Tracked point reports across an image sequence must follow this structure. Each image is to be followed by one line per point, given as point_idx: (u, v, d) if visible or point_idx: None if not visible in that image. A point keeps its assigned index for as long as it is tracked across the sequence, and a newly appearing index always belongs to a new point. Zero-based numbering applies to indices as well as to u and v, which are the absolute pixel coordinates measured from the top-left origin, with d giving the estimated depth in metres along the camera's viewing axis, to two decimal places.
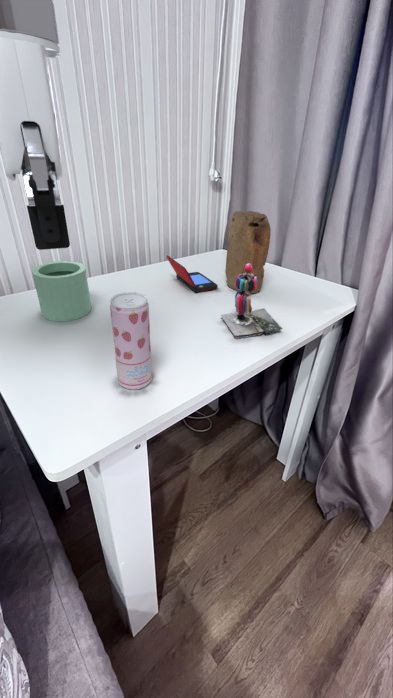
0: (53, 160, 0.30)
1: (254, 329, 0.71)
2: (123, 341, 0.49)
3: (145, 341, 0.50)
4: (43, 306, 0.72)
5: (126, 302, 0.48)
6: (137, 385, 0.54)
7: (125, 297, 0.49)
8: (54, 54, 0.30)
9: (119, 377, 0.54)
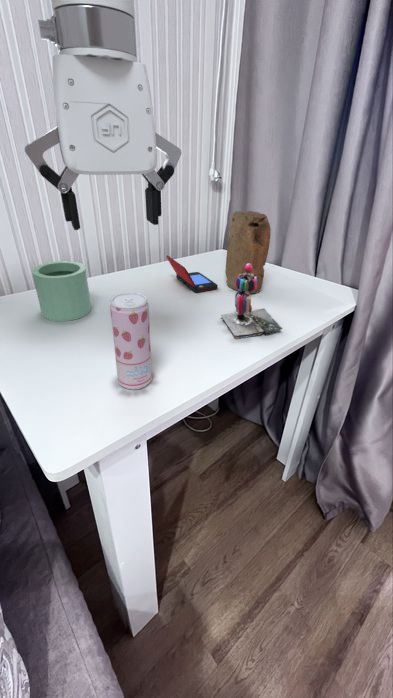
0: None
1: (254, 329, 0.71)
2: (123, 341, 0.49)
3: (145, 341, 0.50)
4: (43, 306, 0.72)
5: (126, 302, 0.48)
6: (137, 385, 0.54)
7: (125, 297, 0.49)
8: None
9: (119, 377, 0.54)
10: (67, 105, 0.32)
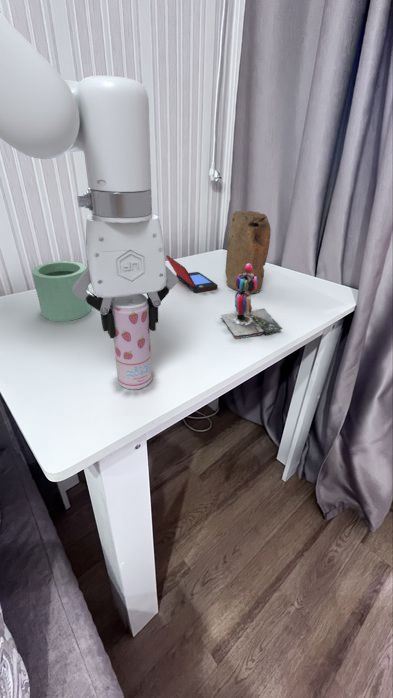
0: None
1: (254, 329, 0.71)
2: (123, 341, 0.49)
3: (145, 341, 0.50)
4: (43, 306, 0.72)
5: (126, 302, 0.48)
6: (137, 385, 0.54)
7: (125, 297, 0.49)
8: None
9: (119, 377, 0.54)
10: (98, 254, 0.41)
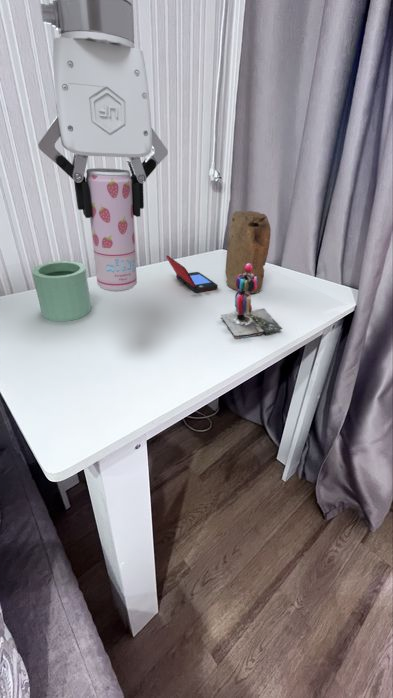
0: None
1: (254, 329, 0.71)
2: (101, 222, 0.42)
3: (127, 226, 0.43)
4: (43, 306, 0.72)
5: (105, 172, 0.40)
6: (119, 285, 0.46)
7: None
8: None
9: (98, 276, 0.46)
10: (67, 86, 0.34)
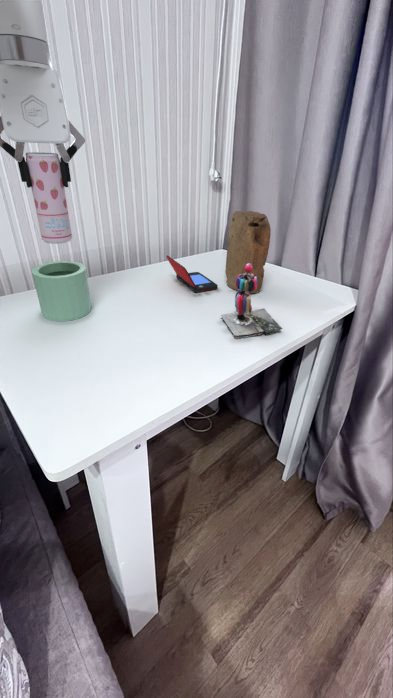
0: None
1: (254, 329, 0.71)
2: (38, 190, 0.59)
3: (58, 193, 0.60)
4: (43, 306, 0.72)
5: None
6: (56, 238, 0.63)
7: None
8: None
9: (41, 232, 0.64)
10: (4, 96, 0.51)
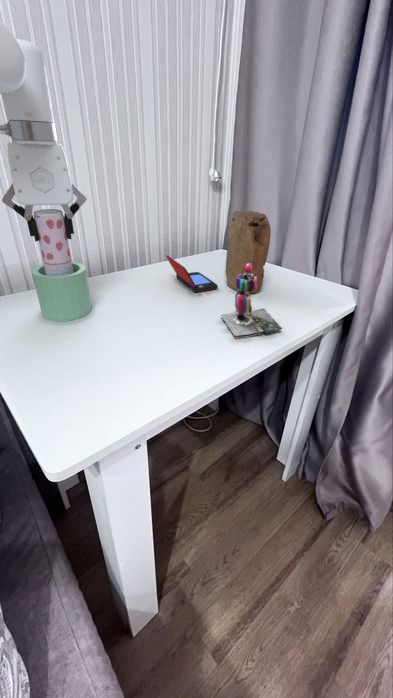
0: None
1: (254, 329, 0.71)
2: (45, 244, 0.66)
3: (62, 245, 0.68)
4: (43, 306, 0.72)
5: (45, 213, 0.65)
6: None
7: (46, 211, 0.66)
8: None
9: None
10: (16, 168, 0.58)
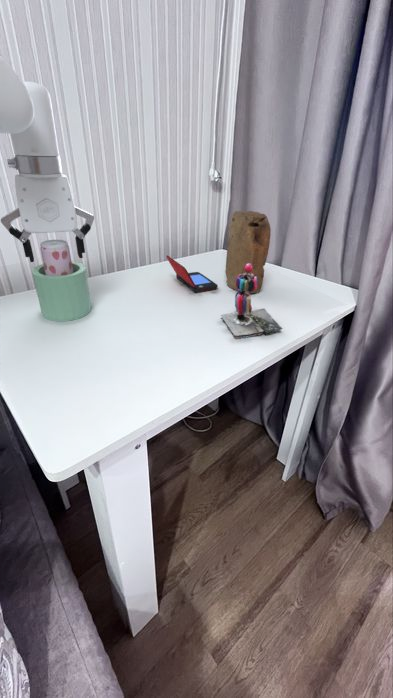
0: None
1: (254, 329, 0.71)
2: (50, 273, 0.69)
3: (67, 274, 0.71)
4: (43, 306, 0.72)
5: (51, 244, 0.68)
6: None
7: (52, 242, 0.70)
8: None
9: None
10: (23, 200, 0.61)
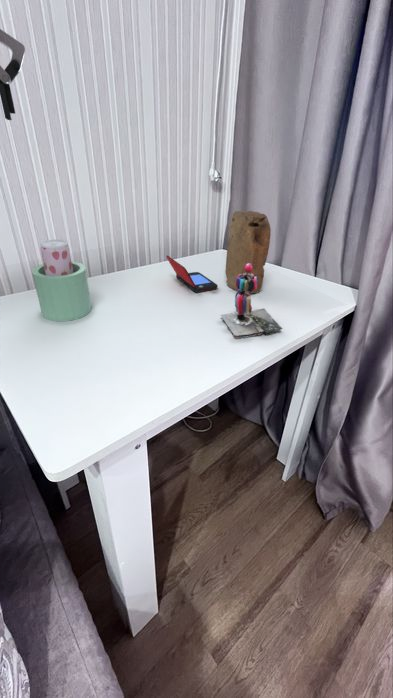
0: None
1: (254, 329, 0.71)
2: (50, 273, 0.69)
3: (67, 274, 0.71)
4: (43, 306, 0.72)
5: (51, 244, 0.68)
6: None
7: (52, 242, 0.70)
8: None
9: None
10: None
